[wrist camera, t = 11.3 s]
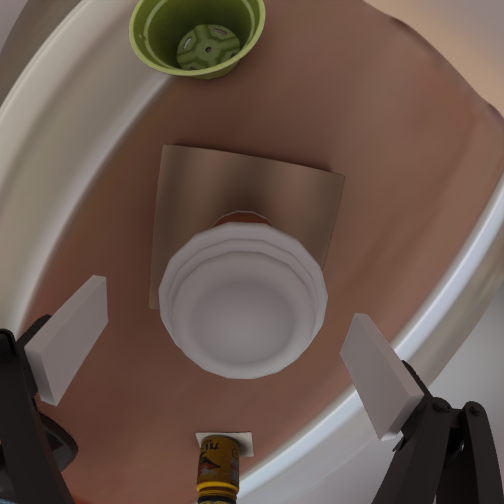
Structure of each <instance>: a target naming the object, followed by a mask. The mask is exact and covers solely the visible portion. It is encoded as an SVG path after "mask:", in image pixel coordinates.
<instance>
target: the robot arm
mask: <svg viewBox="0 0 504 504" xmlns="http://www.w3.org/2000/svg"><path fill="white" fill-rule="evenodd" d="M107 324H108V313H107V288H106V277H102V276H97V275H93V276H92V277H91V278H90V279H89V280H88V281H87V282H85V283H84V284H83V285H82V286H81V287H80V288H79V289H78V290H77V291H76V292H75V293H74V294H73V295H72V296H71V297H70V298H69V299H68V300H67V301H66V302H65V304H64V305H63V306H62V307H61V308H60V309H59V310H58V311H57V312H56V313H55V314H54V315H53V316H51V315H45V316H43V317H41V318H39V319H37V320H36V321H35V322H34V323H33V325H32V326H31V327H30V328H29V329H28V330H27V331H26V332H25V333H24V334H23V335H22V336H21V337H20V338H19V339H18V340H17V341H16V342H15V338H14V335H13V333H12V332H11V331H10V330H7V329H0V440H1V444H0V504H75V502H74V500H73V498H72V496H71V494H70V492H69V490H68V488H67V486H66V483H65V481H64V479H63V477H62V475H61V472H62V471H63V470H64V469H65V468H66V467H67V466H68V465H69V464H70V463H71V462H73V461H74V459H75V457H76V455H77V452H78V448H77V445H76V443H75V442H74V440H73V439H72V438H71V437H70V436H69V435H68V434H67V433H66V432H65V431H64V430H63V429H62V428H61V427H59V426H58V425H57V424H55V423H54V422H53V421H51V420H50V419H48V418H47V417H45V416H43V415H42V414H40V413H39V412H38V408H37V405H36V401H35V399H34V396H35V394H36V393H37V391H38V392H39V395H40V398H41V400H42V401H44V402H47V403H49V404H52V405H54V406H57V405H58V403H59V402H60V400H61V398H62V396H63V395H64V393H65V391H66V389H67V388H68V386H69V384H70V383H71V381H72V379H73V378H74V376H75V374H76V373H77V371H78V369H79V368H80V366H81V364H82V363H83V361H84V360H85V358H86V356H87V355H88V353H89V352H90V350H91V348H92V347H93V345H94V344H95V342H96V341H97V339H98V337H99V336H100V334H101V333H102V331H103V330H104V328H105V327H106V325H107ZM340 356H341V358H342V360H343V362H344V364H345V366H346V368H347V370H348V372H349V375H350V377H351V379H352V381H353V383H354V385H355V387H356V389H357V392H358V394H359V396H360V398H361V400H362V402H363V405H364V407H365V409H366V411H367V413H368V415H369V418H370V420H371V422H372V424H373V426H374V429H375V431H376V433H377V435H378V438H379V440H380V441H383V440H389V439H394V438H395V437H396V436H397V434H398V433H399V431H400V430H401V431H402V433H403V435H404V436H403V437H402V439H401V440H400V441H399V442H398V444H397V445H396V446H395V448H394V449H393V450H392V451H393V452H394V451H395V450H396V452H395V454H394V457H393V459H392V462H391V464H390V467H389V469H388V471H387V473H386V475H385V478H384V480H383V482H382V484H381V486H380V488H379V490H378V492H377V494H376V496H375V498H374V500H373V502H372V504H433V502H434V498H435V495H436V504H504V495H503V489H502V481H501V475H500V469H499V464H498V459H497V454H496V449H495V445H494V441H493V437H492V433H491V429H490V425H489V421H488V418H487V414H486V411H485V409H484V408H483V407H482V406H481V405H480V404H479V403H477V402H474V401H469V402H467V403H466V404H465V405H464V407H463V408H462V409H454V408H452V407H451V406H450V404H449V403H448V402H447V401H446V400H444V399H442V398H439V397H433V396H432V395H431V394H430V392H429V391H428V389H427V388H426V386H425V385H424V383H423V382H422V381H421V380H420V378H419V376H418V375H416V372H415V371H414V369H413V368H412V367H411V366H410V365H409V364H408V363H406V362H405V361H404V360H400V359H399V357H398V356H397V354H396V353H395V352H394V350H393V349H392V347H391V346H390V345H389V343H388V342H387V340H386V339H385V338H384V336H383V335H382V334H381V332H380V331H379V330H378V328H377V327H376V325H375V324H374V323H373V321H372V320H371V319H370V317H369V316H368V315H367V314H363V313H355V314H354V316H353V319H352V322H351V325H350V328H349V330H348V333H347V336H346V338H345V341H344V343H343V346H342V349H341V351H340ZM463 445H464V447H463V450H462V446H463Z"/></svg>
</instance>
